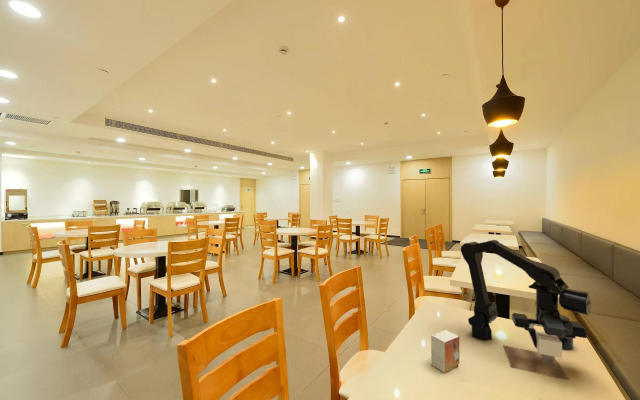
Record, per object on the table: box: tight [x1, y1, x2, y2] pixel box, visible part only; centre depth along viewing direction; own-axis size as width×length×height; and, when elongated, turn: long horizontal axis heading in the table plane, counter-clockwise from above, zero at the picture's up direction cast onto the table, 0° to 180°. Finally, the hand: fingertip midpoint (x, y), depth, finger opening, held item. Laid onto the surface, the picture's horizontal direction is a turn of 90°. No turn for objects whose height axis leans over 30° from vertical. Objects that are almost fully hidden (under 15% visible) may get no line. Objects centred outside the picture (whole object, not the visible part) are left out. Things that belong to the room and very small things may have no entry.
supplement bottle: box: [560, 314, 574, 351], centre depth 100 cm, size 7×7×12 cm
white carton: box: [535, 330, 563, 359], centre depth 89 cm, size 6×6×5 cm
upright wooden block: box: [541, 354, 555, 366], centre depth 89 cm, size 3×1×4 cm, turn 64°
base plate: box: [502, 345, 570, 381], centre depth 91 cm, size 15×14×1 cm
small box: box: [430, 329, 461, 374], centre depth 91 cm, size 8×6×10 cm
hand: (547, 349), depth 89 cm, fingers closed on white carton, 6 cm apart
